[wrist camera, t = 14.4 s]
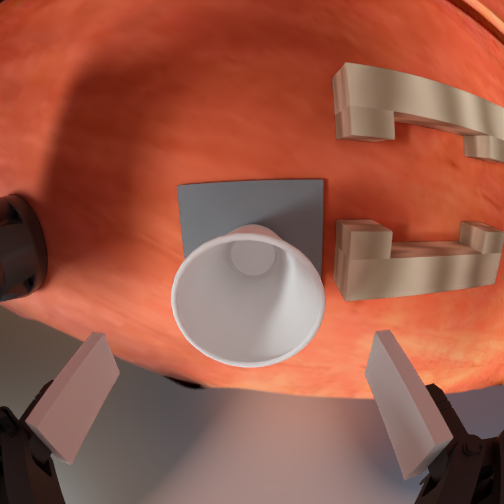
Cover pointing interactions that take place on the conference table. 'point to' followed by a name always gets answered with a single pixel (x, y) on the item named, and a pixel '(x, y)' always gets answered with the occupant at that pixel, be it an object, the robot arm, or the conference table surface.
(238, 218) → the coaster
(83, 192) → the conference table surface
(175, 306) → the cup
